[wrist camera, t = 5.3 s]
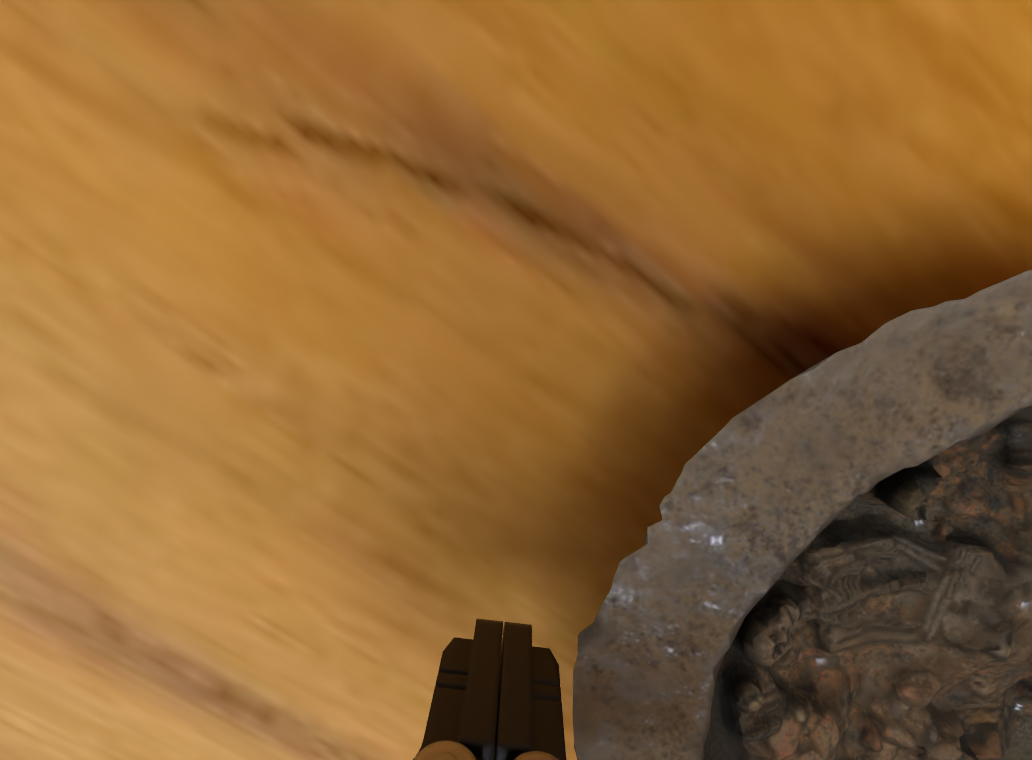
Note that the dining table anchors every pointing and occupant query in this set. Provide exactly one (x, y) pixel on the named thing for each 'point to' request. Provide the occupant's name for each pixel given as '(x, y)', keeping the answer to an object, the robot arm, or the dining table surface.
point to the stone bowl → (839, 564)
